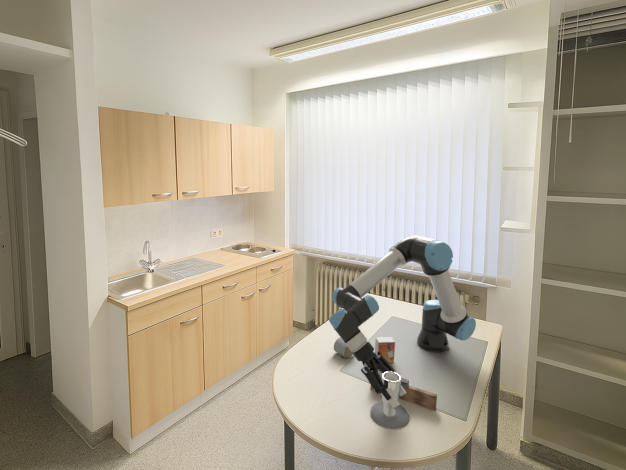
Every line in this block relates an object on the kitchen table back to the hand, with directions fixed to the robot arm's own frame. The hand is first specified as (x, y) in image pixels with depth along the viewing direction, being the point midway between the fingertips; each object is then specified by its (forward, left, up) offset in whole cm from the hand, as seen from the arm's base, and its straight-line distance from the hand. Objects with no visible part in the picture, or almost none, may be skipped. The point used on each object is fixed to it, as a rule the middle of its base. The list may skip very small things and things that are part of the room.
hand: (400, 400), depth 135 cm
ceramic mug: (+17, -45, -8) cm, 49 cm away
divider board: (-3, -12, -8) cm, 14 cm away
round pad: (+3, -2, -8) cm, 8 cm away
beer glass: (+3, -2, -7) cm, 8 cm away
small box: (-1, -40, -8) cm, 41 cm away
